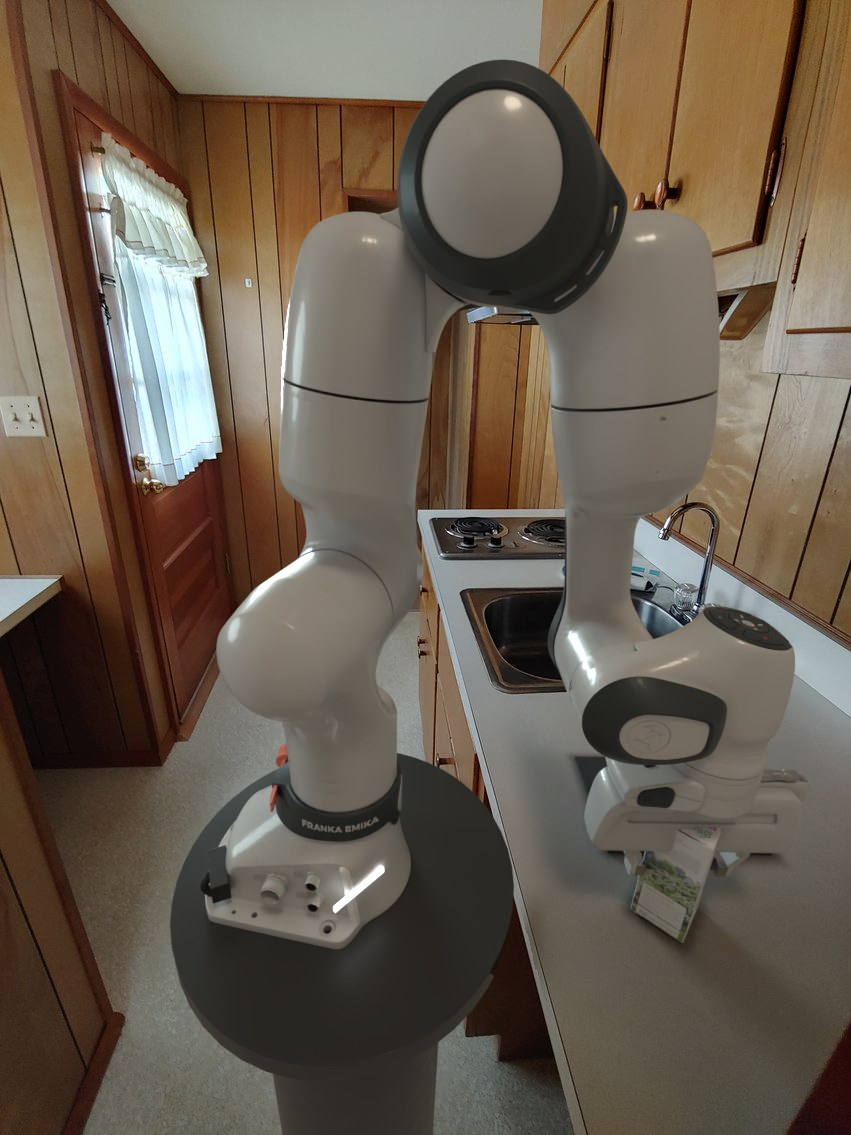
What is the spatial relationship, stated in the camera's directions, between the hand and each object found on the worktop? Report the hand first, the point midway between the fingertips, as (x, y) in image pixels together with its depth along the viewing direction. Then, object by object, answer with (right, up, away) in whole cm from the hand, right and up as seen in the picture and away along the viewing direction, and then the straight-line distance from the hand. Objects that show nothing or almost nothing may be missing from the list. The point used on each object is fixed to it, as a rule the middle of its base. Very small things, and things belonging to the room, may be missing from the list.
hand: (675, 870), depth 58 cm
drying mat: (+6, 0, +16) cm, 17 cm away
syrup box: (0, -6, +3) cm, 6 cm away
